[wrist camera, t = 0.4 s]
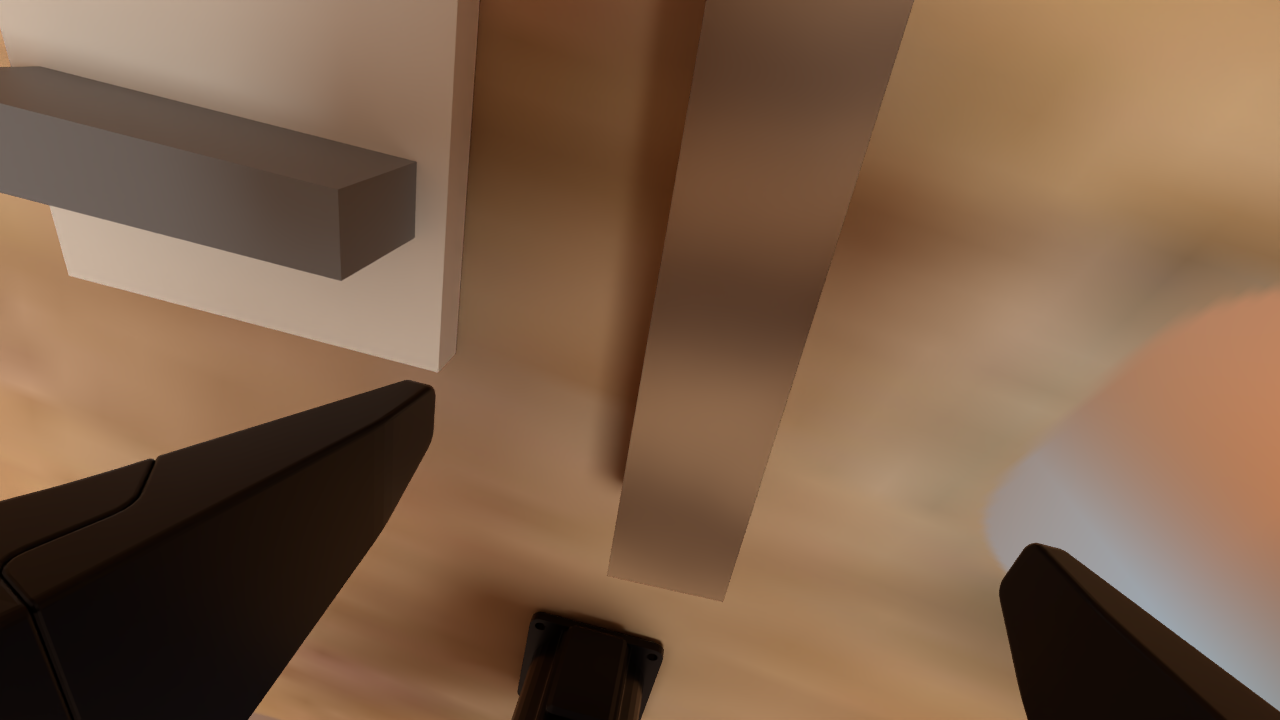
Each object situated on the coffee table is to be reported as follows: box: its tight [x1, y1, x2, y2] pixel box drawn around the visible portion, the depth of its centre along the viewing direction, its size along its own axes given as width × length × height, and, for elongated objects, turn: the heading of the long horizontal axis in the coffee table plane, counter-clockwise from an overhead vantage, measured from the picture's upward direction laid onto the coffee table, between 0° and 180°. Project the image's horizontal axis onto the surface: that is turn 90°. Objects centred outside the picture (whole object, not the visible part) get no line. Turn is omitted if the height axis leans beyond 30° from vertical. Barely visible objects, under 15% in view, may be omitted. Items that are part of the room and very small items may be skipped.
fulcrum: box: [0, 0, 480, 373], centre depth 17 cm, size 12×14×6 cm
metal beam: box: [607, 0, 914, 602], centre depth 17 cm, size 20×4×5 cm, turn 172°
